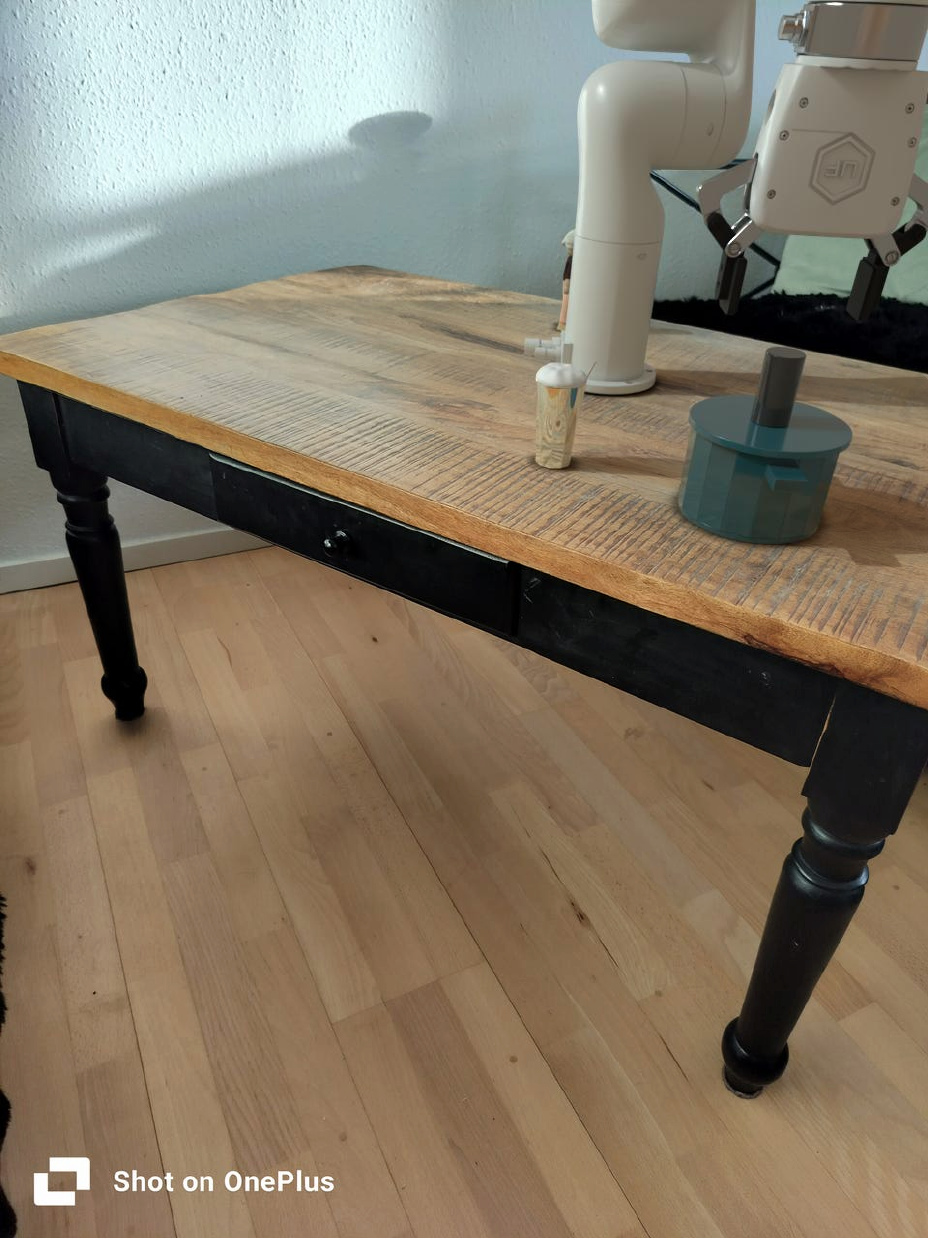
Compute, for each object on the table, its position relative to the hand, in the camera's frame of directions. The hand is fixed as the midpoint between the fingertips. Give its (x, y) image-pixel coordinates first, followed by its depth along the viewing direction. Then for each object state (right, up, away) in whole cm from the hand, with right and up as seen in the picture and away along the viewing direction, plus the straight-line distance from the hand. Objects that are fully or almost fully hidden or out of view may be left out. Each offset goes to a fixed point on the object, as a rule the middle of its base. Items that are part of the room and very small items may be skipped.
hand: (791, 313), depth 65 cm
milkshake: (-16, -9, +16) cm, 24 cm away
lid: (0, -8, +4) cm, 9 cm away
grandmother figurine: (-10, +18, +56) cm, 59 cm away
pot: (-1, -14, +9) cm, 16 cm away
